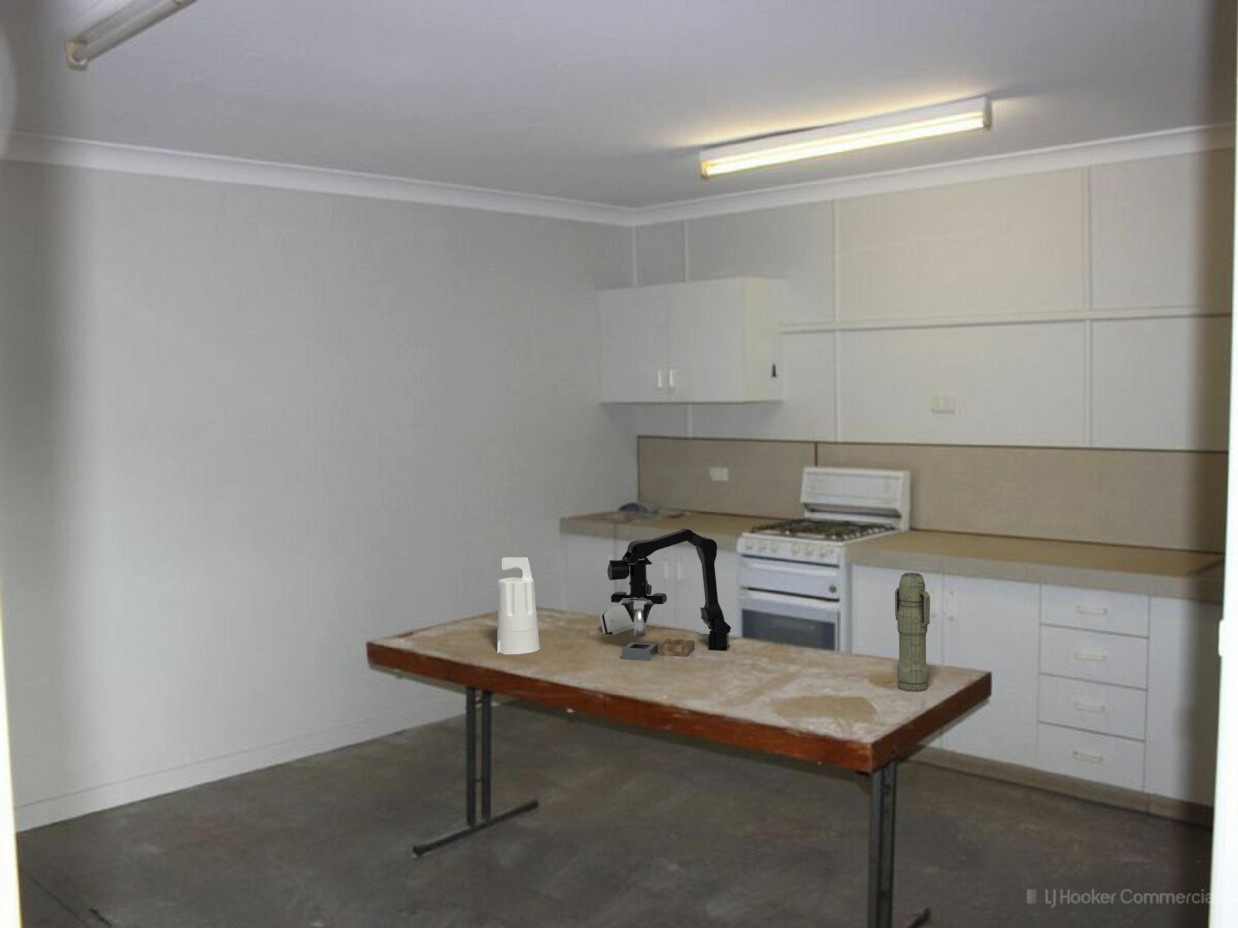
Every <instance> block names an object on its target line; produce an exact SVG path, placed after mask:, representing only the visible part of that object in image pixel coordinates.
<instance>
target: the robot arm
mask: <svg viewBox="0 0 1238 928" xmlns="http://www.w3.org/2000/svg"><path fill="white" fill-rule="evenodd" d="M685 542H687V543H689V544H691V545H692V546H694V547H695V550H696V553H697V557H698V559H699V561H700V564H701V570H702V571H701V573H702V579H703V580H702V581H703V591H704V602H705V603H704V606H703V607H700V614H701V616H700V619H701V620H702V621H703V623H704V624H705V625H706V626H707V628H708V630H709V634H708V635H707V644H708V645H707V647H708V650H713V651H728V650H729V648H730V647H731V645H730V637H729V636H730V632H731V629H732V627H731V626H730V625H729V624H728V623H727V622H726V621H725V617H724V613H723V610H722V608H721V605H720V603H719V596H718V595H719V594H718V587H717V576H716V567H715V565H716V564H715V563H716V558H717V553H718V544H717V542H716V541H715V540H714V539H712V538H710V537H706V536H701V535H700V534H697V533H695V531H693V530H691V529H689V528H686V527H685V528H682V529H679V530H676V531H673V532H671V533H667V534H664V535H661V536H658V537H654V538H650V539H638V540H637V539H636V540H632V541H630V542H629V544H628V545H627V549H626V552H625V553H624V555H623V556H622V558H621V559H615V560H614V559H610V560H609V561H608V563H609V564H608V566H607V571H606V572H607V578H608V579H609V581H617V580H626V579H628V578H629V581H628V585H629V586H630V587H629V588H630V593H629V594H628V593H627V592H626V591H615V592H614V593H612V594H611V595H610V603H620V602H621V604H620V606H624V607H625V608H626V610H627V612H628V614H629V616H630V618H631V620H632V622H634V615H633V610H634V609H635V608H634V605H635V601H637V602H639V601H643V602H644V601H645V603H644V604H643V609H644V623H645V624H647V622H648V619H649V616H650V612H651V609H652V608H653V607H654V606H655V605H663V604H665V603H666V602H667V601H668V597H667V594H666V593H663V592H661V593H660V592H656V593H654V594H652V587H653V586H652V585H651V584H649V582H648V581H649V580H648V578H647V566H650V565H653V562H652V561H651V560H649V558H648V557H649V556H651V555H652V554H654V553H655V552H657V551H659V550H662V549H666V548H669V547H672V546H675V545H678V544H682V543H685Z"/></svg>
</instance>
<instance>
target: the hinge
mask: <svg viewBox="0 0 1238 928" xmlns="http://www.w3.org/2000/svg"><path fill="white" fill-rule="evenodd" d="M599 620H600V625H601V630H602V634H607V633H612V635H613V636H615V635H618V634H620V633H623V632H627V631H630V630H632V629H633V630H634V622H632V620H631V618H630V616H629V614H628V612H627V610H626V608H625V607H624V605H618V606H613V607H610V608H608V609H605V611H604V612H602V613H601V614H600V615H599Z"/></svg>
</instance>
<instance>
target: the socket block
mask: <svg viewBox="0 0 1238 928" xmlns="http://www.w3.org/2000/svg"><path fill="white" fill-rule="evenodd" d="M695 644H696V643H695V639H681V638H666V639H665V640H663V641H662V642H661V643H660V644H658V655H659V656H670V657H683V658H685V657H688V656H690V655H691V654H692V653H693V652H694V651H695V649H696V648H695V647H696V646H695Z"/></svg>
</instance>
